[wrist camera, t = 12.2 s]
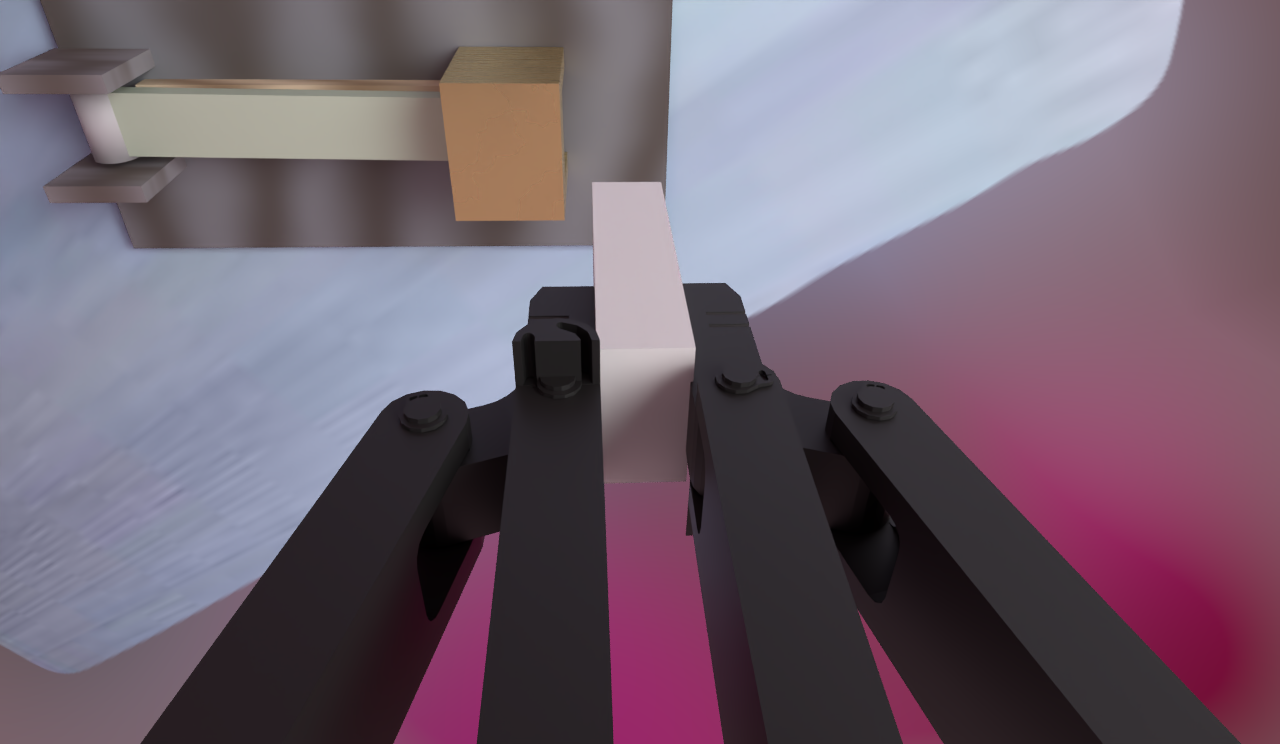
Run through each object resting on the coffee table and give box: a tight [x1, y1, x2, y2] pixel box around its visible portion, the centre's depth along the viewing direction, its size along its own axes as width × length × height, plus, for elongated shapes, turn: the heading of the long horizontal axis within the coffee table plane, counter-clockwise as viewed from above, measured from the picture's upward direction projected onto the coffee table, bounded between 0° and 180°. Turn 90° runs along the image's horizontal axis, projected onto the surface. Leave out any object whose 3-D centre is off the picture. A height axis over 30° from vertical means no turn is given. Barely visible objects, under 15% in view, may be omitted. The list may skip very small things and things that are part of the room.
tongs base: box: [0, 0, 672, 248], centre depth 39 cm, size 29×15×5 cm, turn 89°
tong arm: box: [70, 87, 448, 164], centre depth 38 cm, size 21×3×2 cm, turn 89°
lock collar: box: [439, 47, 568, 221], centre depth 38 cm, size 5×6×6 cm
